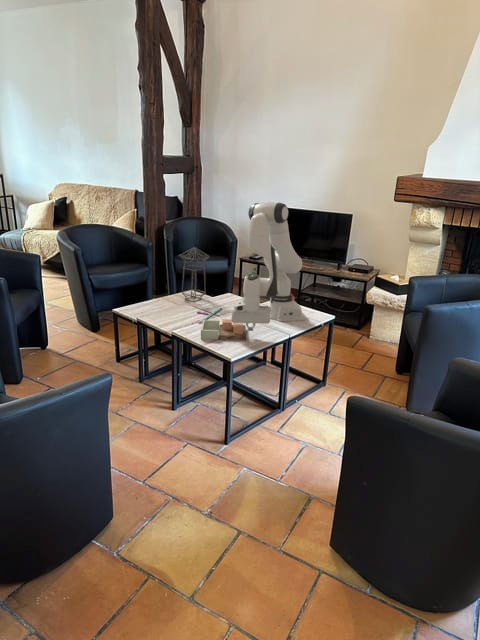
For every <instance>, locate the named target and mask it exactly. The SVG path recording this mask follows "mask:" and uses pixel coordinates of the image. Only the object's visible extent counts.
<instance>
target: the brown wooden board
mask: <svg viewBox="0 0 480 640" xmlns="http://www.w3.org/2000/svg"><path fill="white" fill-rule="evenodd" d="M233 327H234V324H232V330H223V329H222V324H220V327H219V337H218V340H220V341H246V340H247V339H246V338H247V333H246V332H247V331H246V328H247V326H246V324H243V334H233Z"/></svg>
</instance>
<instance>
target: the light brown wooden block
mask: <svg viewBox="0 0 480 640" xmlns="http://www.w3.org/2000/svg"><path fill="white" fill-rule="evenodd" d="M221 325H222V329H223V330H232V325H233V322H232V318H231V319H227V318H226V319H222V323H221Z"/></svg>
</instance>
